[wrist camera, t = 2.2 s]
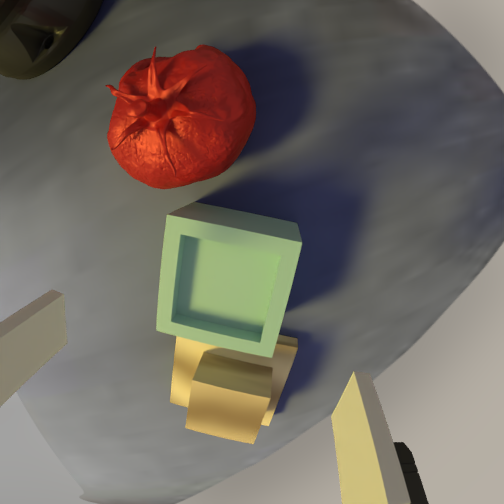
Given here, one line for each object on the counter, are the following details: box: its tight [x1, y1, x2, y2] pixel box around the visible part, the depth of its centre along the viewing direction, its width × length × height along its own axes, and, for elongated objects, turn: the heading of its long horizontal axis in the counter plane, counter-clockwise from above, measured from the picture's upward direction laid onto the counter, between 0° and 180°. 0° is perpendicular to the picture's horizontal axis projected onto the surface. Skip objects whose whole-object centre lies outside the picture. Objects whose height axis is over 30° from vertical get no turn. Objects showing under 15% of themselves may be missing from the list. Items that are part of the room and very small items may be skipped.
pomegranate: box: [105, 45, 256, 189], centre depth 18 cm, size 10×10×9 cm
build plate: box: [170, 335, 298, 444], centre depth 25 cm, size 10×10×6 cm
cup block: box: [156, 202, 302, 358], centre depth 22 cm, size 8×8×6 cm
